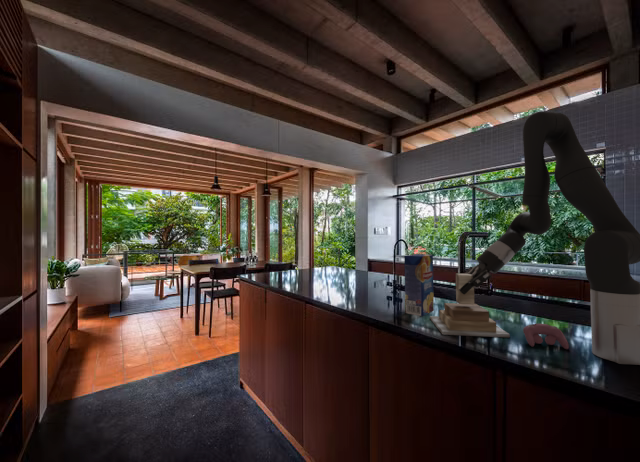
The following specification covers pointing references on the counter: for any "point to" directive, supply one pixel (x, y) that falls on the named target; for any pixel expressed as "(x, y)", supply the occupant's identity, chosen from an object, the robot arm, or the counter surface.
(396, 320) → the counter surface
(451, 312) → the platform
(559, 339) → the video game controller
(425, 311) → the juice carton
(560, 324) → the counter surface
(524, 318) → the counter surface
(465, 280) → the birch block
